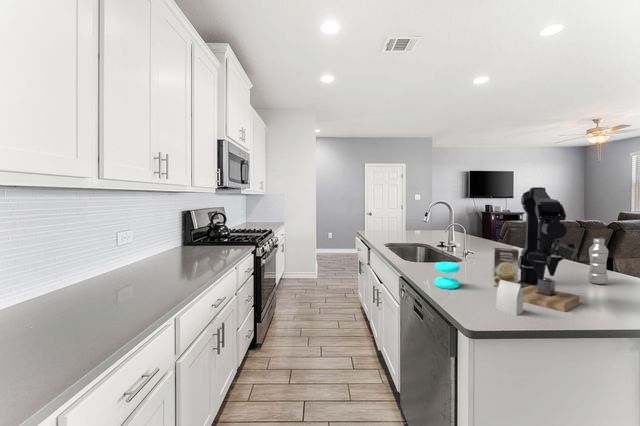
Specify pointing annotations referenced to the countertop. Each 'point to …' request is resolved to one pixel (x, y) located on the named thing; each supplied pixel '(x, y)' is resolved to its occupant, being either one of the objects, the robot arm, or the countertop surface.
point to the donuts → (447, 281)
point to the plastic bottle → (598, 262)
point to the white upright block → (510, 297)
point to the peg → (546, 287)
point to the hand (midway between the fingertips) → (546, 277)
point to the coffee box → (505, 265)
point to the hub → (550, 299)
